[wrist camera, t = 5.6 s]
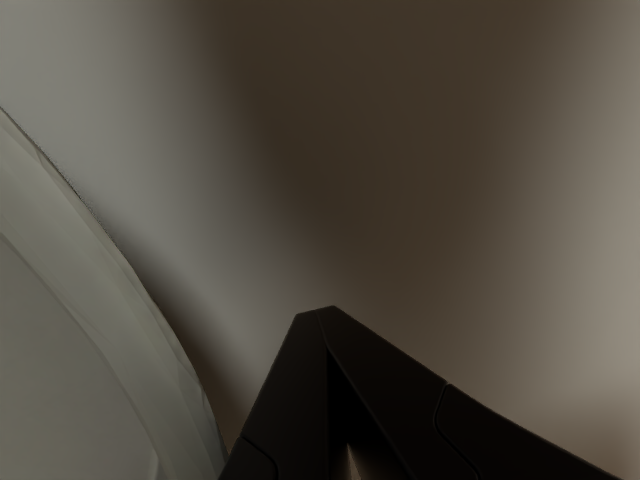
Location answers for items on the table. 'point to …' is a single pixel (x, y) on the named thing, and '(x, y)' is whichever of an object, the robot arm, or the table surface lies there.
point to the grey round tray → (86, 346)
